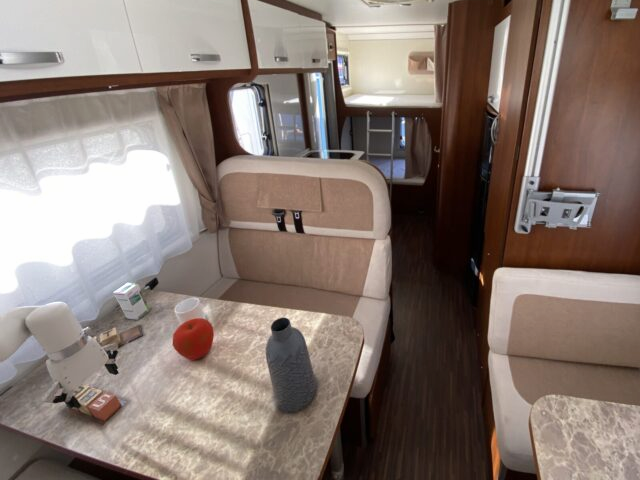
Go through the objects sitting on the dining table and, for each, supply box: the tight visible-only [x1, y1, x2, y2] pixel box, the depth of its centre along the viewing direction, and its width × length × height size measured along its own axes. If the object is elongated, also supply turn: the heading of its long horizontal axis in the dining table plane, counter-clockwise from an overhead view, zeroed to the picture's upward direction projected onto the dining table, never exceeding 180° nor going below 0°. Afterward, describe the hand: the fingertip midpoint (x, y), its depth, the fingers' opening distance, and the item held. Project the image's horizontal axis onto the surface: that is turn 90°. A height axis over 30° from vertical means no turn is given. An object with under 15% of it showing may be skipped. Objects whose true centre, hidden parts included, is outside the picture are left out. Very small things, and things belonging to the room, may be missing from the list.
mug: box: [173, 297, 207, 326], centre depth 118 cm, size 12×8×10 cm
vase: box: [265, 317, 317, 414], centre depth 87 cm, size 12×12×28 cm
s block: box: [88, 391, 121, 421], centre depth 88 cm, size 4×4×5 cm
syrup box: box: [113, 282, 151, 320], centre depth 123 cm, size 6×6×14 cm
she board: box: [62, 383, 128, 427], centre depth 90 cm, size 17×7×6 cm, turn 74°
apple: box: [172, 318, 215, 361], centre depth 104 cm, size 12×12×14 cm
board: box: [92, 324, 144, 354], centre depth 111 cm, size 17×7×6 cm, turn 134°
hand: (96, 388), depth 85 cm, fingers open, 9 cm apart
